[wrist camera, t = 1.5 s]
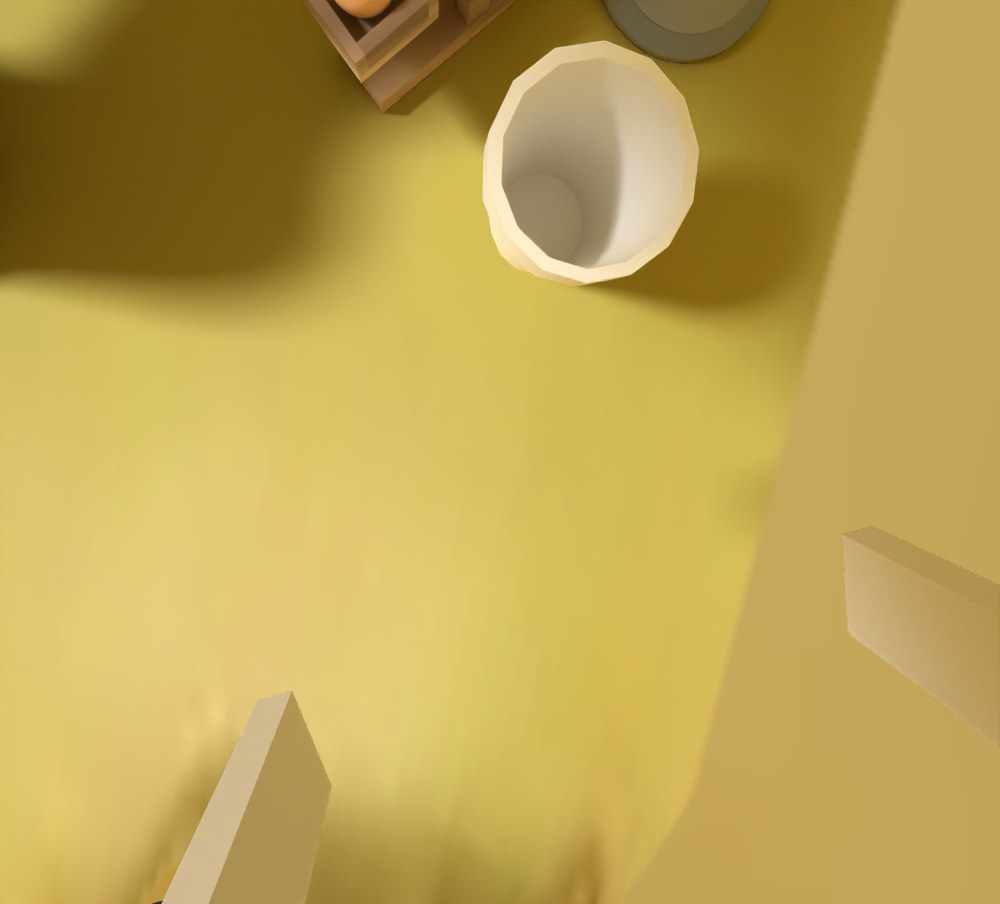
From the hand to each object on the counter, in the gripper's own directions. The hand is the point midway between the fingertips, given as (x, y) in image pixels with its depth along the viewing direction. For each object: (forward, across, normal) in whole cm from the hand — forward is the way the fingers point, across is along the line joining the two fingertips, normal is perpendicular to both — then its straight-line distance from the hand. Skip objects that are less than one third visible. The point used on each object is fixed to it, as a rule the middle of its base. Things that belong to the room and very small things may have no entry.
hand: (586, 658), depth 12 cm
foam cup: (+27, +7, +13) cm, 31 cm away
